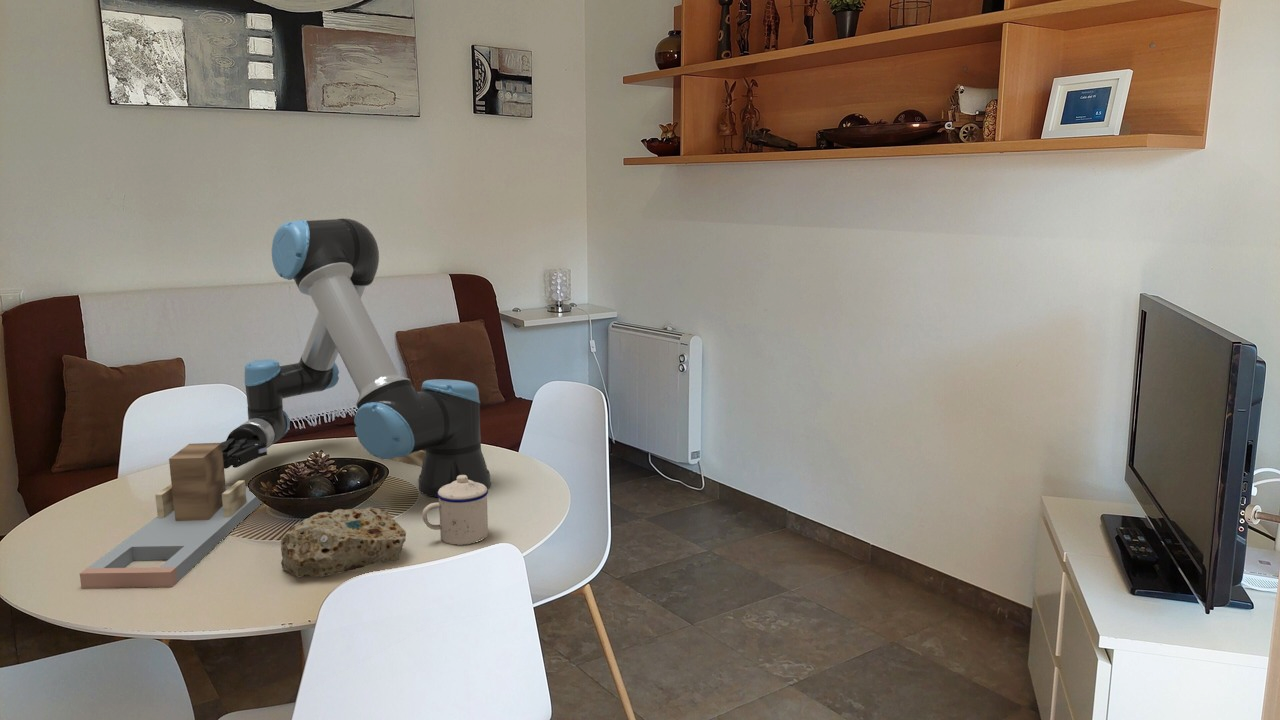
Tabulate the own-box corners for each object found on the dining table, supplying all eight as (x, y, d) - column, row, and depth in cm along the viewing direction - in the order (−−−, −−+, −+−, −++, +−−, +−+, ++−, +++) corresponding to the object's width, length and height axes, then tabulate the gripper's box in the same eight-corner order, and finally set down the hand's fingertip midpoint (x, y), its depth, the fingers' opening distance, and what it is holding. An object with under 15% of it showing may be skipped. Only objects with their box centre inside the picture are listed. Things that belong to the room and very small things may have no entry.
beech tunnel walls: (177, 503, 180) (175, 481, 180) (246, 502, 181) (244, 480, 180) (157, 517, 173) (155, 494, 172) (230, 516, 173) (228, 494, 172)
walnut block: (195, 502, 181) (189, 443, 178) (227, 501, 181) (221, 442, 179) (175, 521, 171) (168, 458, 169) (209, 519, 171) (203, 457, 169)
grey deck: (198, 498, 191) (197, 486, 190) (268, 497, 191) (267, 485, 191) (81, 588, 149) (79, 573, 148) (172, 586, 149) (170, 572, 148)
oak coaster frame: (473, 451, 224) (472, 437, 223) (425, 467, 211) (425, 452, 210) (433, 442, 231) (432, 429, 230) (384, 458, 218) (384, 443, 218)
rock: (385, 539, 171) (393, 492, 168) (412, 584, 160) (420, 534, 157) (269, 552, 160) (275, 502, 156) (289, 601, 149) (295, 548, 145)
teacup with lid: (481, 524, 176) (479, 465, 174) (495, 540, 168) (493, 479, 166) (418, 535, 170) (415, 474, 168) (430, 552, 162) (427, 489, 160)
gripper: (281, 455, 204) (238, 490, 181) (221, 456, 204) (171, 491, 181) (278, 423, 203) (235, 454, 179) (218, 423, 202) (167, 454, 179)
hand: (203, 472), depth 180 cm, fingers closed
